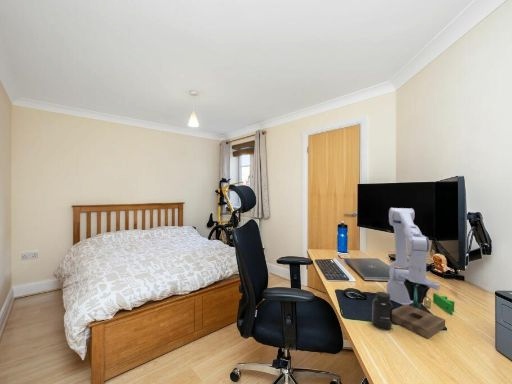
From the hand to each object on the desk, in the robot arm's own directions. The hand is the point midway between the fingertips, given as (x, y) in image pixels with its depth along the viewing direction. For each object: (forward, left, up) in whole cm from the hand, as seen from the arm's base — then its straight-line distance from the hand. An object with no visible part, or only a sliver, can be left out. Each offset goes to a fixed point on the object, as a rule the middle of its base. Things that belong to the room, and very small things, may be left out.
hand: (416, 301), depth 91 cm
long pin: (0, 0, -2) cm, 2 cm away
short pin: (-4, +19, -9) cm, 21 cm away
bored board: (0, 0, -9) cm, 9 cm away
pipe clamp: (0, +25, -9) cm, 27 cm away
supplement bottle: (-6, -13, -9) cm, 17 cm away
